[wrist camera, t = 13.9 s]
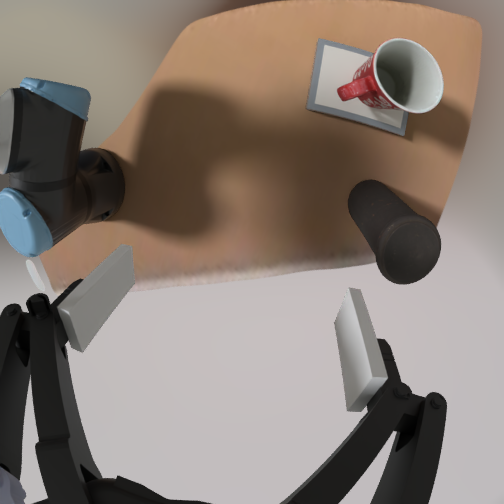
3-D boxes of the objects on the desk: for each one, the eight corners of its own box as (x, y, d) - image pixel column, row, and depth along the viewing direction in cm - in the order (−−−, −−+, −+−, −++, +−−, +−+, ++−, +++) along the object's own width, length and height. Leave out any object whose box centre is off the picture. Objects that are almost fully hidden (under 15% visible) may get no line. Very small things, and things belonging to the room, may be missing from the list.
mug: (389, 54, 30) (427, 34, 18) (408, 107, 34) (453, 107, 22) (315, 71, 34) (328, 49, 22) (337, 125, 37) (360, 128, 25)
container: (350, 231, 48) (381, 297, 30) (340, 183, 44) (375, 227, 27) (394, 221, 46) (443, 280, 28) (387, 173, 42) (445, 211, 25)
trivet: (305, 109, 40) (307, 108, 37) (316, 43, 34) (318, 37, 31) (397, 134, 39) (404, 136, 36) (408, 71, 33) (415, 69, 31)
